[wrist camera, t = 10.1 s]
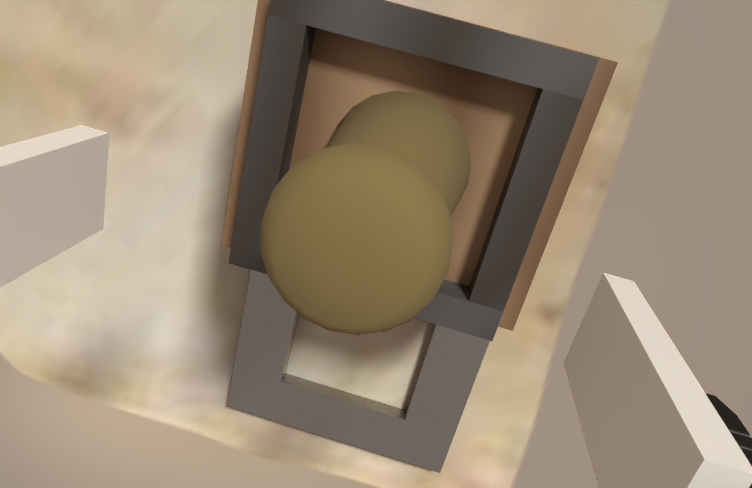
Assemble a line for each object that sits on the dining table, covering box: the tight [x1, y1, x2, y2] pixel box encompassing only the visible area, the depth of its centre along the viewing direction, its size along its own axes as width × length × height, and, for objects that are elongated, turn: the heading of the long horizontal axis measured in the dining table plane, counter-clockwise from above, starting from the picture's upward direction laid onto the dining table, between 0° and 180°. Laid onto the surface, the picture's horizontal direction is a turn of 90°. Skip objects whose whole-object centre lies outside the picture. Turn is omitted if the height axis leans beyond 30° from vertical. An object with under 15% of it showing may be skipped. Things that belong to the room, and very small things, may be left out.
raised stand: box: [221, 0, 618, 341], centre depth 28 cm, size 14×12×12 cm
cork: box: [260, 90, 471, 335], centre depth 19 cm, size 6×6×11 cm
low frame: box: [227, 270, 490, 473], centre depth 39 cm, size 16×16×1 cm
